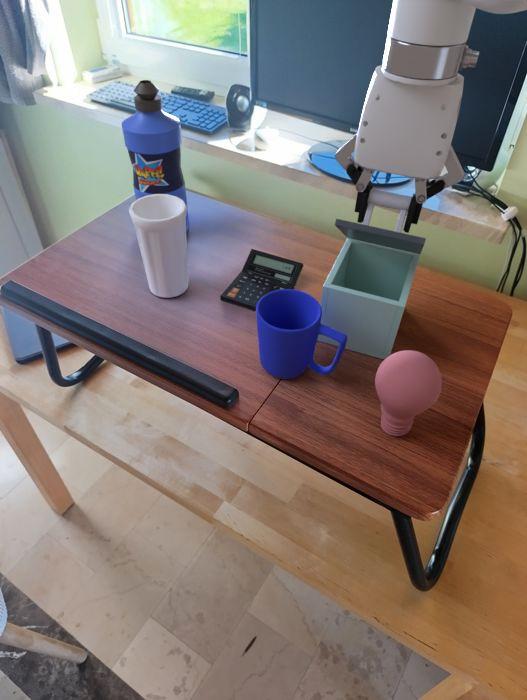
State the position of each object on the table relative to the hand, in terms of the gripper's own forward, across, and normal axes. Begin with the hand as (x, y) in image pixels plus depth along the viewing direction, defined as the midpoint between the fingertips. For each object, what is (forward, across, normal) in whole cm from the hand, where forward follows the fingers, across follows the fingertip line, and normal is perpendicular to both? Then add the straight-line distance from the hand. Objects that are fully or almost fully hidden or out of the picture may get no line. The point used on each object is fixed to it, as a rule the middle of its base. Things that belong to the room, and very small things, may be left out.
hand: (384, 221), depth 60 cm
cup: (+17, +31, +4) cm, 36 cm away
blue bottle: (+17, +41, -13) cm, 46 cm away
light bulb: (+18, -8, +17) cm, 26 cm away
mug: (+18, +6, +13) cm, 23 cm away
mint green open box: (+17, 0, 0) cm, 17 cm away
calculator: (+18, +17, -2) cm, 25 cm away
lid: (+3, 0, -1) cm, 3 cm away
